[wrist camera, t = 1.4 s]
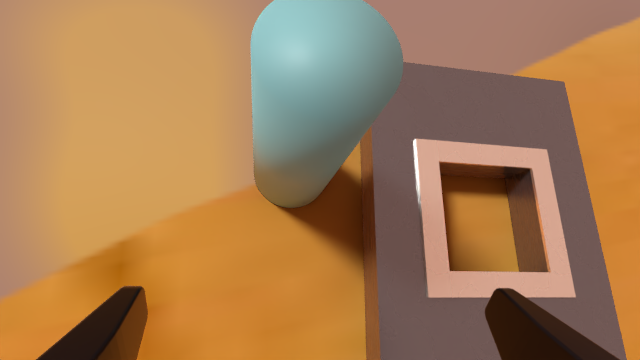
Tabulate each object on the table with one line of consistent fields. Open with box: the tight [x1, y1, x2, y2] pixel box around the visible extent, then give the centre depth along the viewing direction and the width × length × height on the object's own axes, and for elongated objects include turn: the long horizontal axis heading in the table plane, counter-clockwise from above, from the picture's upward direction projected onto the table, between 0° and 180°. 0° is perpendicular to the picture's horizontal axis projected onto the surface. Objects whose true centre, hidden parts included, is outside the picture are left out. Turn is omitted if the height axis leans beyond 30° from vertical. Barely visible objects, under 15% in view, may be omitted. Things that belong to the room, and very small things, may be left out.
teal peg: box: [251, 0, 403, 208], centre depth 17 cm, size 5×5×13 cm
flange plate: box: [360, 62, 627, 360], centre depth 23 cm, size 22×16×3 cm
